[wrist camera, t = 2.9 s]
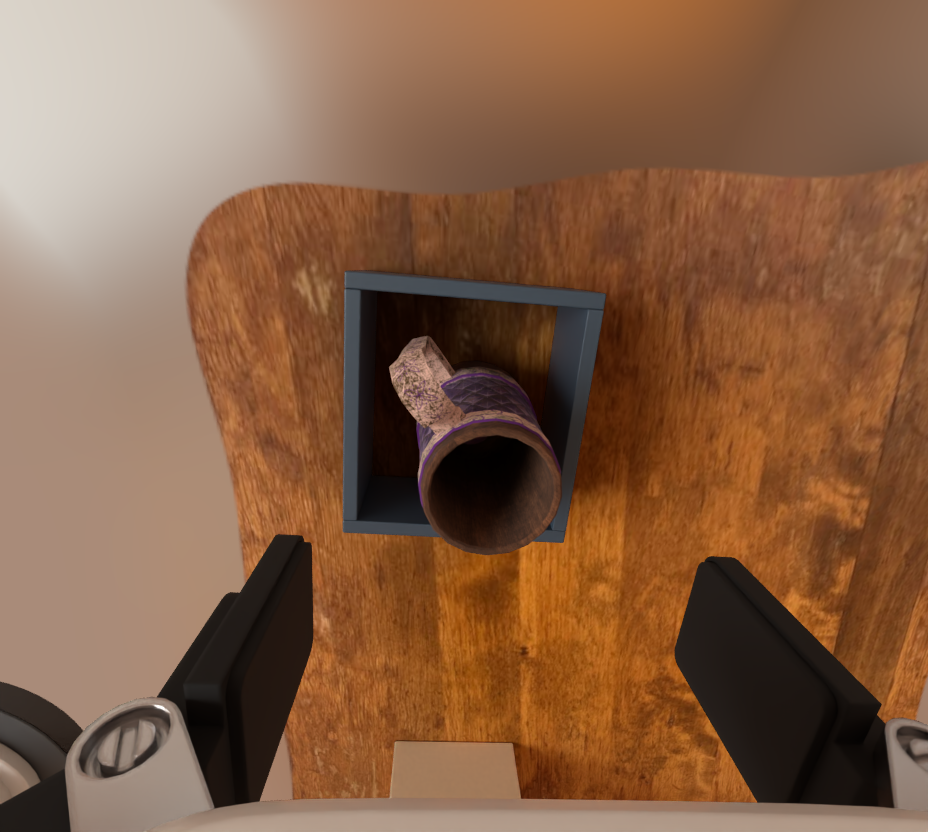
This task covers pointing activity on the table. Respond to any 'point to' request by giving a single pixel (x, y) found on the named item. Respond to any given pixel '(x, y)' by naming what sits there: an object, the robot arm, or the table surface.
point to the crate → (365, 495)
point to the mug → (477, 451)
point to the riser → (454, 770)
